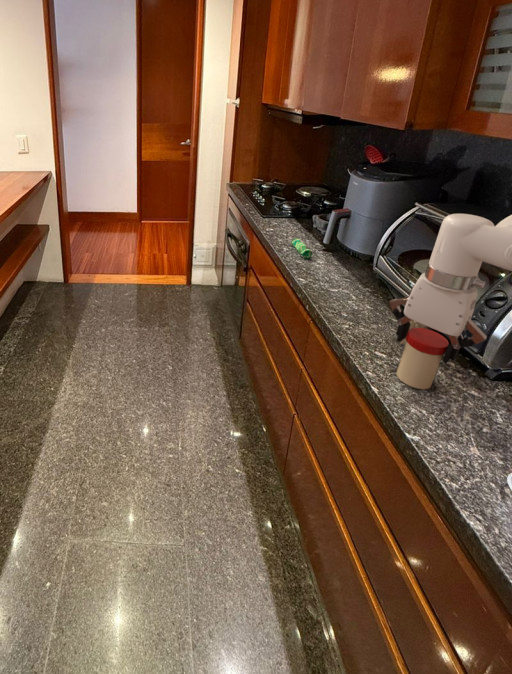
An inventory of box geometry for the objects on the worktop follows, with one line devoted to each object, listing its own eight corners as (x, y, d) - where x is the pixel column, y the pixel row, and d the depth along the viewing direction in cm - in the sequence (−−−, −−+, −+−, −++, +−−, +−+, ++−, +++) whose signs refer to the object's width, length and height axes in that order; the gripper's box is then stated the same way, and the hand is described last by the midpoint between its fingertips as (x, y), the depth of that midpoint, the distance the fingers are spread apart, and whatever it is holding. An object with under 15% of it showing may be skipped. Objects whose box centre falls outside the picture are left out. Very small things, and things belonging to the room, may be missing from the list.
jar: (427, 373, 87) (442, 334, 83) (434, 393, 81) (450, 352, 77) (394, 365, 89) (406, 327, 85) (398, 383, 84) (412, 343, 80)
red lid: (441, 339, 83) (444, 332, 83) (450, 359, 78) (453, 351, 77) (403, 331, 86) (405, 324, 85) (409, 349, 80) (411, 342, 80)
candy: (314, 256, 143) (309, 247, 142) (305, 260, 144) (300, 252, 142) (301, 243, 154) (297, 235, 153) (293, 248, 155) (289, 240, 153)
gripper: (513, 289, 71) (480, 365, 78) (407, 256, 84) (387, 324, 91) (501, 301, 67) (467, 380, 74) (392, 265, 80) (371, 335, 87)
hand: (423, 349), depth 82 cm, fingers open, 8 cm apart
